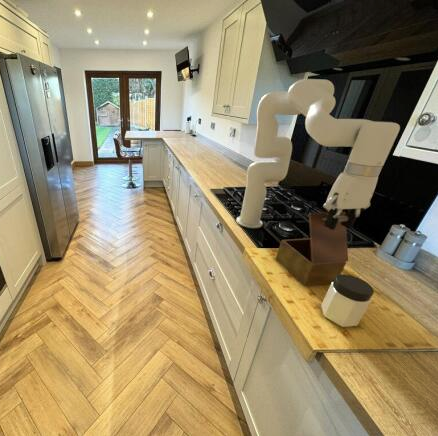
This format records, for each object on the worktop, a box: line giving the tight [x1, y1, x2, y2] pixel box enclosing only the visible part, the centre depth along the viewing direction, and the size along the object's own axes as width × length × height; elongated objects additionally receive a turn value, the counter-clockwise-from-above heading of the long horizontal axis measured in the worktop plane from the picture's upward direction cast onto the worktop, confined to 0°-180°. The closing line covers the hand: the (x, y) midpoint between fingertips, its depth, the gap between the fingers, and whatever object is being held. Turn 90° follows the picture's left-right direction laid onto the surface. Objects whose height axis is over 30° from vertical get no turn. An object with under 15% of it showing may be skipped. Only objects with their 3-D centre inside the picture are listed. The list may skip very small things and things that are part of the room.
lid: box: [308, 210, 349, 264], centre depth 74 cm, size 16×13×5 cm
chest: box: [275, 237, 347, 287], centre depth 86 cm, size 16×13×9 cm
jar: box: [320, 273, 375, 328], centre depth 66 cm, size 9×8×12 cm
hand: (337, 226), depth 73 cm, fingers closed on lid, 5 cm apart
